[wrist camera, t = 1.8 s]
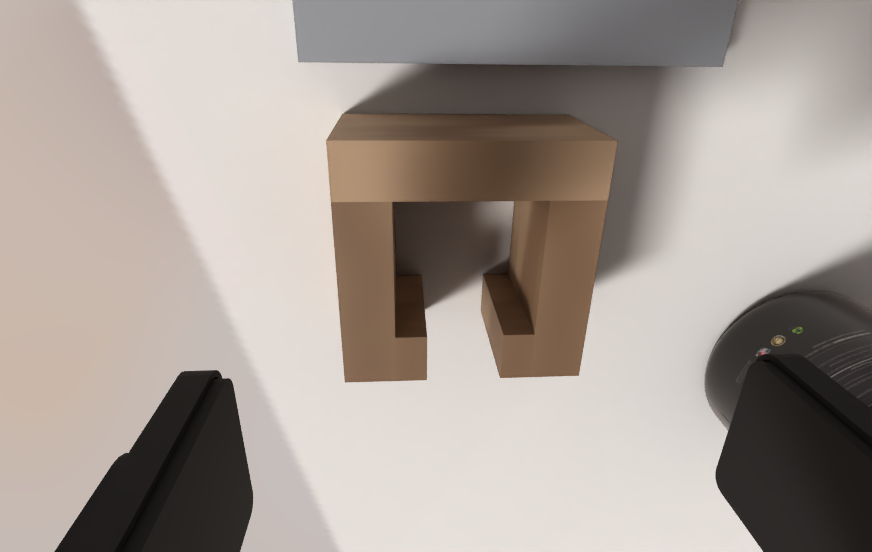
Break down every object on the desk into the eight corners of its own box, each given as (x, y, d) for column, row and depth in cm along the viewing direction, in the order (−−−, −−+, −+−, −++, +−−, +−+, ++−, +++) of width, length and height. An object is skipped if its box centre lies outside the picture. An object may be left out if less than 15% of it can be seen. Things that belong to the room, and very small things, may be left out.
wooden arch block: (568, 114, 16) (617, 140, 13) (545, 309, 19) (578, 375, 16) (342, 113, 16) (326, 140, 12) (354, 313, 19) (344, 382, 15)
